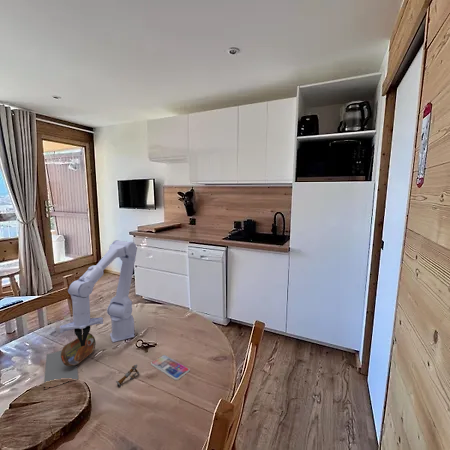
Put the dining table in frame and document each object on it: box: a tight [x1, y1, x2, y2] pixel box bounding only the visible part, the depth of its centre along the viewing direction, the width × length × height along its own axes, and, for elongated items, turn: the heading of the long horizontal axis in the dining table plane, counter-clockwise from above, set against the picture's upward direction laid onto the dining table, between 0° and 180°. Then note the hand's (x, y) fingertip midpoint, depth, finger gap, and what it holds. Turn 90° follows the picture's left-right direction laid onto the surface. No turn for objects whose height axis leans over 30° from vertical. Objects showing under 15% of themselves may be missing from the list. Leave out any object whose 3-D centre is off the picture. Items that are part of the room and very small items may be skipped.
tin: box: [60, 332, 97, 366], centre depth 101 cm, size 15×3×8 cm, turn 169°
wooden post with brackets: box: [115, 364, 140, 388], centre depth 91 cm, size 2×8×4 cm, turn 139°
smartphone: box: [150, 354, 191, 381], centre depth 99 cm, size 7×1×15 cm
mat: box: [43, 350, 79, 383], centre depth 98 cm, size 10×22×1 cm, turn 32°
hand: (82, 344), depth 101 cm, fingers closed
